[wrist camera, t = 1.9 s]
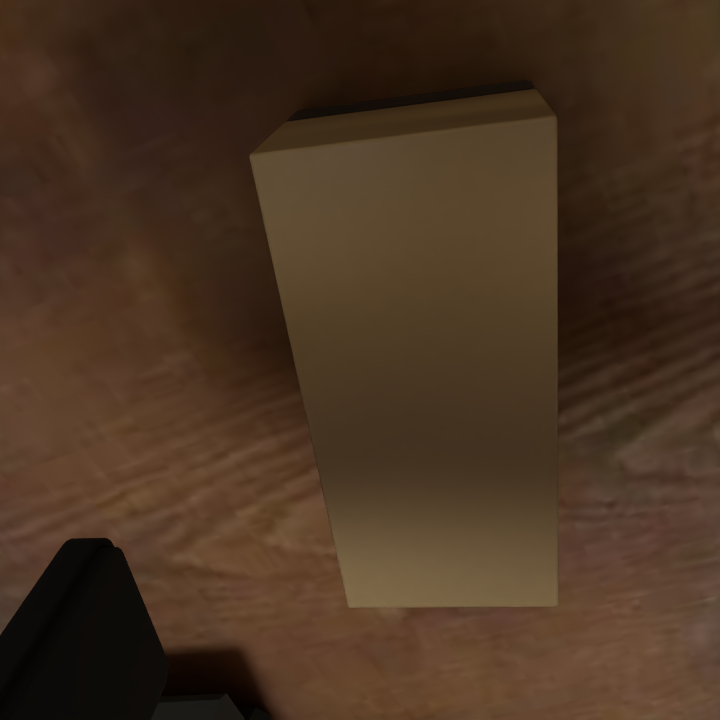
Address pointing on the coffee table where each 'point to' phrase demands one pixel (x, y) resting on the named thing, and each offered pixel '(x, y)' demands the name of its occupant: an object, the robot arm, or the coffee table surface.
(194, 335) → the coffee table surface
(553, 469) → the eraser
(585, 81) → the coffee table surface
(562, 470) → the coffee table surface
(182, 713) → the toy car
